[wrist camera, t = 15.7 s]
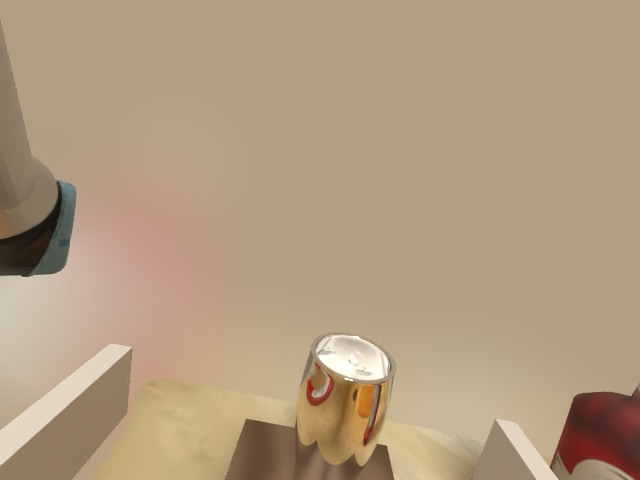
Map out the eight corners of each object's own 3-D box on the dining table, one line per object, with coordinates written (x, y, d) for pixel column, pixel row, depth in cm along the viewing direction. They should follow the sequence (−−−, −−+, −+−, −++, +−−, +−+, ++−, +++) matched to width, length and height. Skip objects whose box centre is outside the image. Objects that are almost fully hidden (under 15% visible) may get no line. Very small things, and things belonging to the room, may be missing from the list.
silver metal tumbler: (289, 461, 31) (318, 322, 28) (358, 486, 30) (396, 344, 27) (263, 538, 24) (298, 366, 21) (351, 573, 23) (401, 397, 20)
